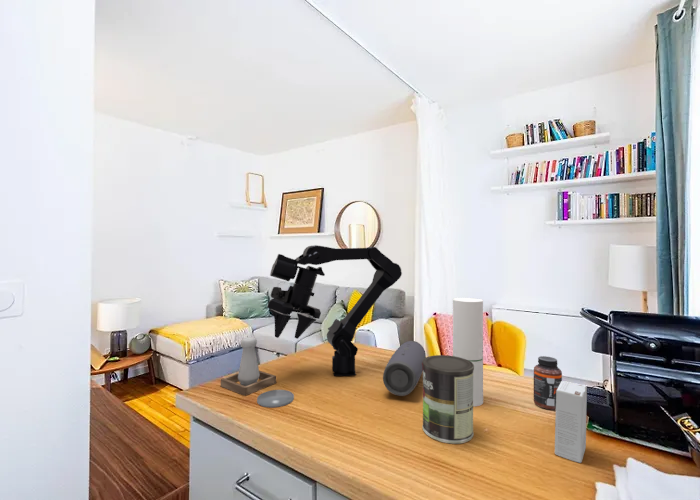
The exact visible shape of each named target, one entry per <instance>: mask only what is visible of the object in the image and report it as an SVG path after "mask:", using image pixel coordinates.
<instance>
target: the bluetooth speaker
mask: <svg viewBox="0 0 700 500" xmlns="http://www.w3.org/2000/svg"><path fill="white" fill-rule="evenodd" d="M426 355H427V354H426V351H425V348H424V346H423V345H422V344H421V343H420V342H418V341H416V340H407V341H405V342H403V343H402V344H401V345H400V346H399V347H398V348H397V349H396V350H395V352H394V353H393V354H391V357H390V358H389V360H388V362H387V364H386V366H385V368H384V369H383V375H382V380H383V381H382V382H383V385H384V386H385V388H386V390H387V391H389V393H390V394H392V395H395V396H399V397H404V396H407V395H409V394H411V393H412V392H413V391H414V389H415V388H416V386H417V385H418V383H419V381H420V379H421V376H422V375H423V364H422V361H423V359H424V358H426V357H427V356H426Z"/></svg>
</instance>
